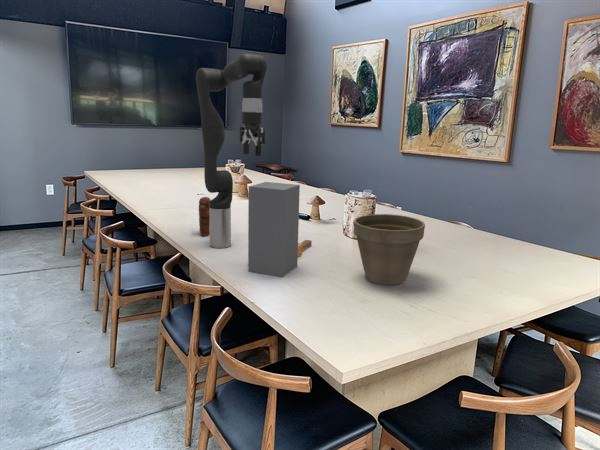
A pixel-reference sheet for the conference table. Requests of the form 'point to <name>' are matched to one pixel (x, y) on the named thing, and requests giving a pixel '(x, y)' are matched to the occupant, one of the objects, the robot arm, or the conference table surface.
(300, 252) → the mallet
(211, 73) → the robot arm
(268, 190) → the pedestal
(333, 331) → the conference table surface
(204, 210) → the wooden figurine
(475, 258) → the conference table surface
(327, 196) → the conference table surface
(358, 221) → the plant pot
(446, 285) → the conference table surface
